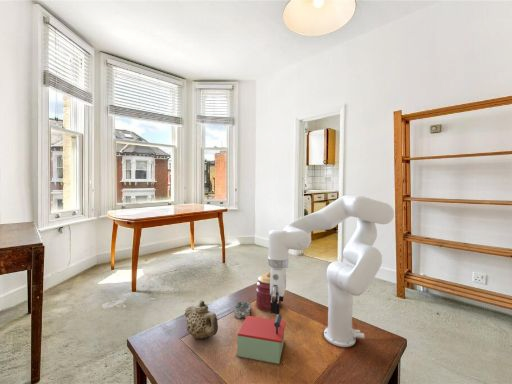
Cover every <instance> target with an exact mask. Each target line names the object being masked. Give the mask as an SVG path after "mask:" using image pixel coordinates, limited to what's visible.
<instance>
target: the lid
mask: <svg viewBox="0 0 512 384" xmlns="http://www.w3.org/2000/svg"><path fill="white" fill-rule="evenodd" d="M286 325H287V321H286V320H282V314H281V313H279V314H276V317H275V319H273V318H268V317H267V318H266V317H259V316H253V315H250V316H247V317H246V318H244V321H243V323H242V324H241V326H240V328H239V330H238V332H237V337H238V336H244V337H249V338H255V339H261V340H267V341H273V342H279V343H282V339H283V335H284V336H285V329H286Z"/></svg>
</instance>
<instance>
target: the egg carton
mask: <svg viewBox="0 0 512 384" xmlns="http://www.w3.org/2000/svg"><path fill="white" fill-rule="evenodd" d="M250 311H251V303H250V302H247V301H239V300H236V302H235V305H234V312H235V318H237V319H241V318H244V319H246V317H247V316H251V315H250V314H251V313H250Z"/></svg>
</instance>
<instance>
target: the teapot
mask: <svg viewBox="0 0 512 384" xmlns="http://www.w3.org/2000/svg"><path fill="white" fill-rule="evenodd" d="M184 315H185V318H186V321H185V325H186V326H185V327H186V331H187V332H188V334H189V335H190V336H191V337H192V338H195V339H199V340H201V339H205V338H207V337H214V336H216V335H217V333H218V330H219V322H218V317H217V314H216V313H215V312H214V311H210V310H209V306H208V305H207V303H205V300H203V299H202V300H200V301H199V303H198V304H197V305H196V306H195V305H193V304H190V305H188V306H186V309H185V313H184Z"/></svg>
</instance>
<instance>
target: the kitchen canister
mask: <svg viewBox="0 0 512 384" xmlns="http://www.w3.org/2000/svg"><path fill="white" fill-rule="evenodd" d="M270 273H271V271H267V272H266V273H263V274H260V276H258V277H257V281H256V300H255V301H256V302H255V303H256V306H257V308H258V309H260V310H263V311H266V312H271V297H272V295H271V294H270ZM279 303H280V306H281V305H282V302H281V301H279Z"/></svg>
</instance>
